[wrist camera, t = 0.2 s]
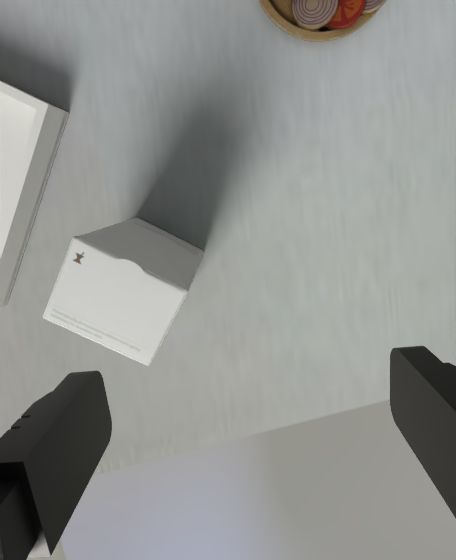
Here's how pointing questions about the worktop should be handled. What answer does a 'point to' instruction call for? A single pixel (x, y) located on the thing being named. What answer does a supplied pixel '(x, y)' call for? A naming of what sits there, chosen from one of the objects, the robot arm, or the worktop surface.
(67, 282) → the skincare box
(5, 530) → the robot arm
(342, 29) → the toy sandwich meal
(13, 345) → the worktop surface
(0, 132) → the bin
